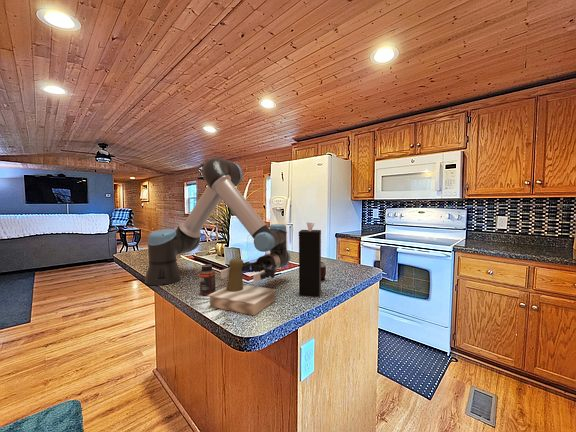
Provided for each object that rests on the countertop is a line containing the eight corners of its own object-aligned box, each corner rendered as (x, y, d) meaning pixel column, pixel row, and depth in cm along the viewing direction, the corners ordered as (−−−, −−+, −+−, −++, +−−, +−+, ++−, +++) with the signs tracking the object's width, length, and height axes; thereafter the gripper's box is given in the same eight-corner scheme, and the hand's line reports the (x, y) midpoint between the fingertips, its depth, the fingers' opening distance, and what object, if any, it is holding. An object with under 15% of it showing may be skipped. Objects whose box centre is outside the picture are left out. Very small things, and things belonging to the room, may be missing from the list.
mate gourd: (326, 278, 125) (326, 246, 124) (325, 282, 117) (325, 249, 117) (310, 277, 127) (310, 246, 126) (308, 282, 119) (308, 249, 118)
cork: (241, 291, 94) (243, 261, 94) (225, 290, 94) (226, 260, 94) (244, 286, 101) (245, 257, 100) (228, 285, 100) (229, 256, 100)
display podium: (207, 306, 91) (207, 295, 91) (234, 293, 105) (234, 283, 105) (254, 316, 83) (254, 303, 83) (276, 300, 97) (276, 289, 97)
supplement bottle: (216, 290, 108) (215, 263, 108) (214, 295, 102) (214, 266, 102) (201, 291, 107) (200, 263, 107) (198, 296, 101) (198, 267, 101)
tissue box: (319, 297, 100) (319, 223, 98) (298, 295, 101) (298, 223, 100) (321, 290, 107) (321, 221, 106) (301, 289, 109) (301, 221, 108)
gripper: (295, 275, 105) (269, 292, 85) (243, 269, 115) (209, 283, 96) (295, 257, 104) (269, 269, 85) (242, 252, 115) (208, 262, 96)
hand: (237, 276), depth 90 cm, fingers open, 13 cm apart
